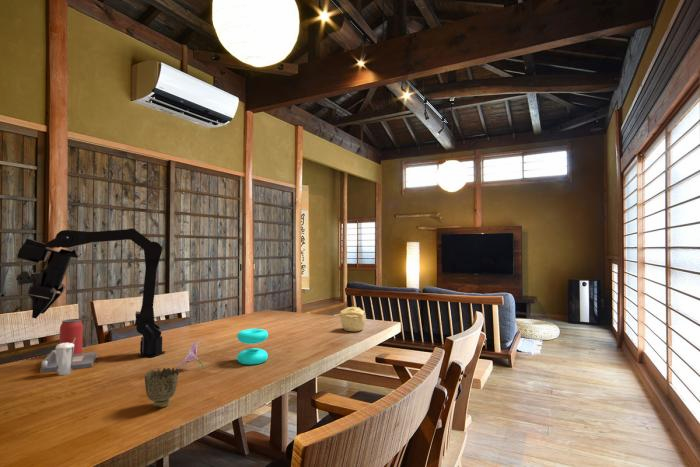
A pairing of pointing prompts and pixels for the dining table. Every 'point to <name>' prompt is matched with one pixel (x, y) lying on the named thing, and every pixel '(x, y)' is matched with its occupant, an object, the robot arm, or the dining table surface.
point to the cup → (161, 386)
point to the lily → (191, 354)
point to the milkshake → (64, 357)
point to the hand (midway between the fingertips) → (37, 315)
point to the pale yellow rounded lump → (353, 319)
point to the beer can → (72, 333)
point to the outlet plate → (78, 361)
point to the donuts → (252, 354)
